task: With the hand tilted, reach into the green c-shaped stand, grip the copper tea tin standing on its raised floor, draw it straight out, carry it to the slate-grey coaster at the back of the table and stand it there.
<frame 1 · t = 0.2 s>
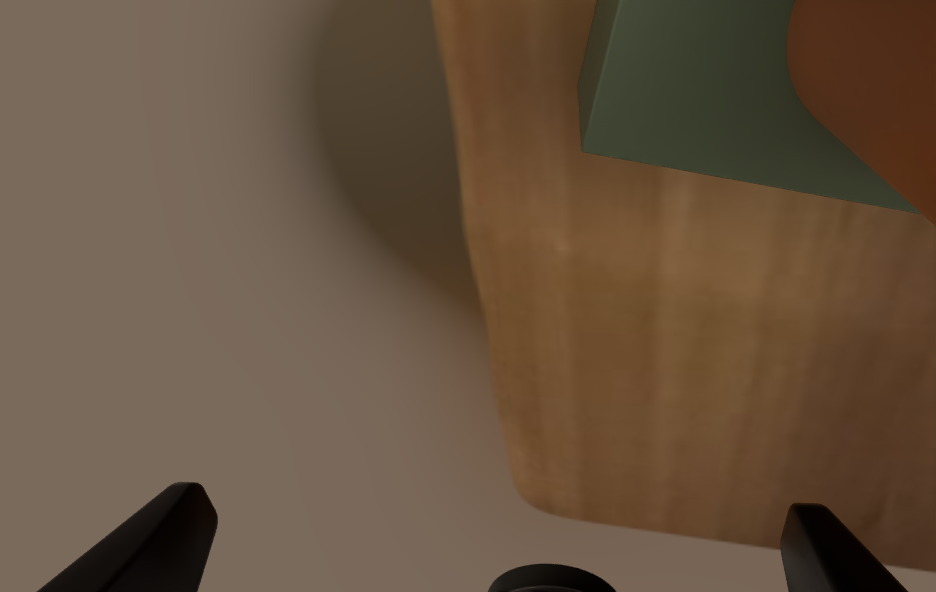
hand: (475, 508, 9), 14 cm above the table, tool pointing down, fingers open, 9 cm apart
tea tin: (928, 15, 12), point 6 cm above the table, touching green c-shaped stand
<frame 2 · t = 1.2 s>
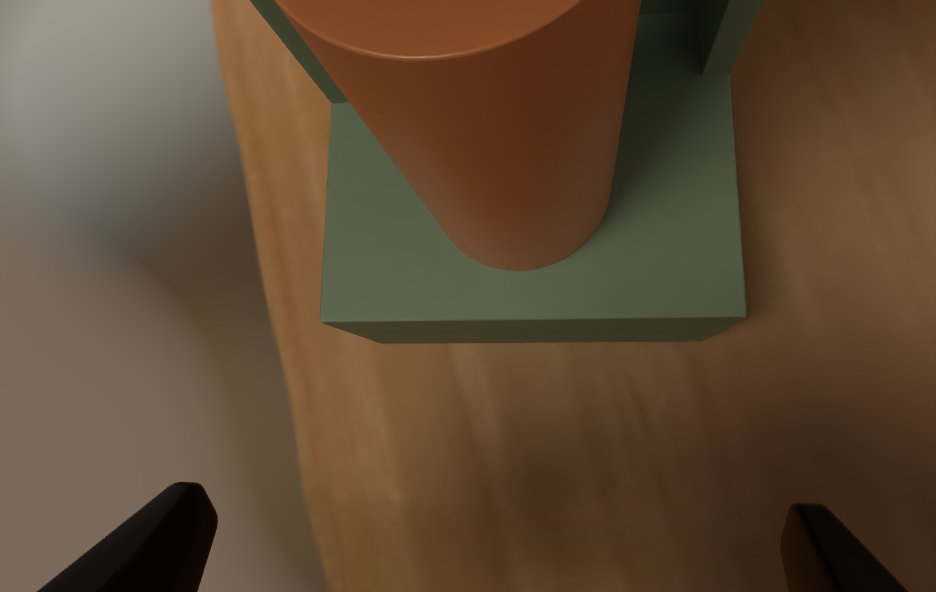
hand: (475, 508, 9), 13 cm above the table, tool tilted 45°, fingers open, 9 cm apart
tea tin: (520, 184, 18), point 6 cm above the table, touching green c-shaped stand
green c-shaped stand: (533, 239, 24), on the table
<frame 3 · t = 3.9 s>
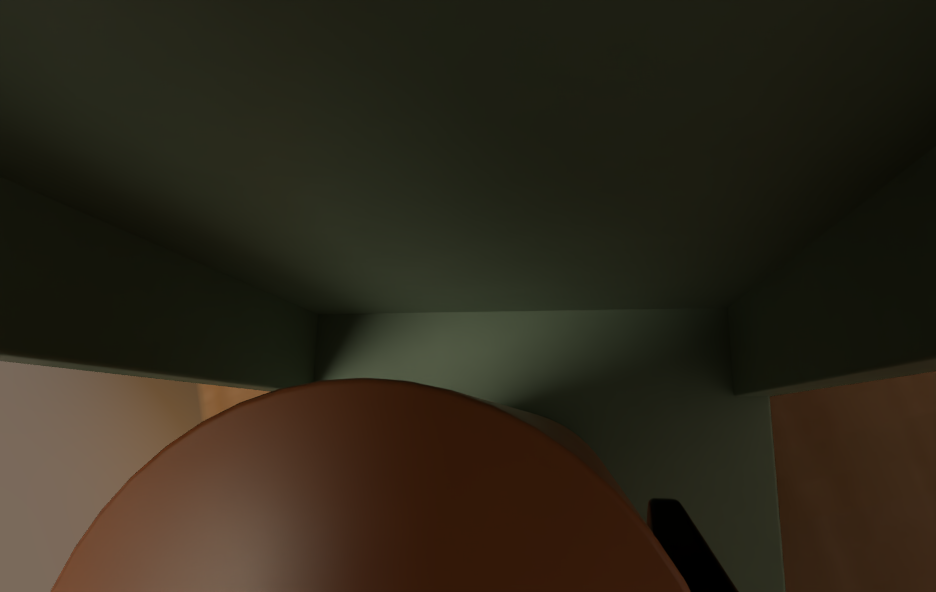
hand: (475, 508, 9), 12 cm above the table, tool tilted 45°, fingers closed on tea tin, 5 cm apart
tea tin: (510, 522, 15), point 6 cm above the table, touching gripper
green c-shaped stand: (529, 495, 21), on the table
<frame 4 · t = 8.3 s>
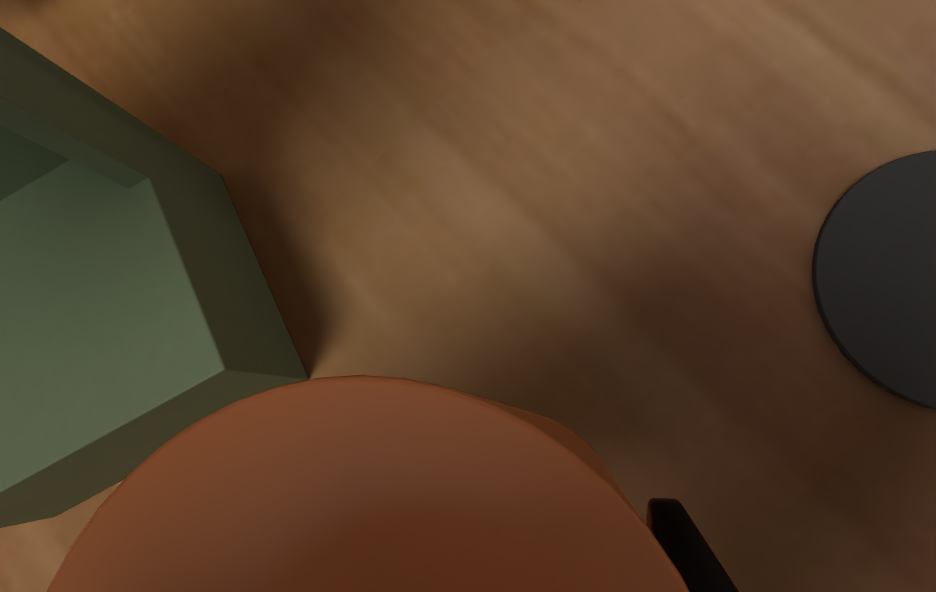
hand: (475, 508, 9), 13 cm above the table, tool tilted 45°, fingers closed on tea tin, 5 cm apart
tea tin: (510, 521, 15), point 8 cm above the table, touching gripper
green c-shaped stand: (146, 360, 26), on the table
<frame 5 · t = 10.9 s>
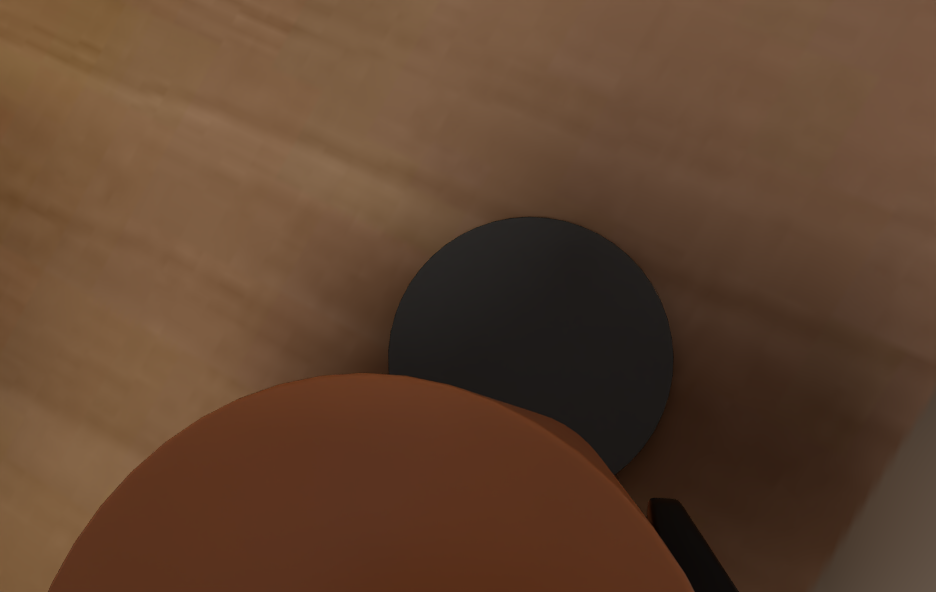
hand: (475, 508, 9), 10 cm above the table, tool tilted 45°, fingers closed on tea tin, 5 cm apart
coaster: (526, 354, 20), on the table
tea tin: (511, 521, 15), point 5 cm above the table, touching gripper
when the fingers open (6 cm above the table, at t = 12.8 s): tea tin stays where it is, resting on coaster.
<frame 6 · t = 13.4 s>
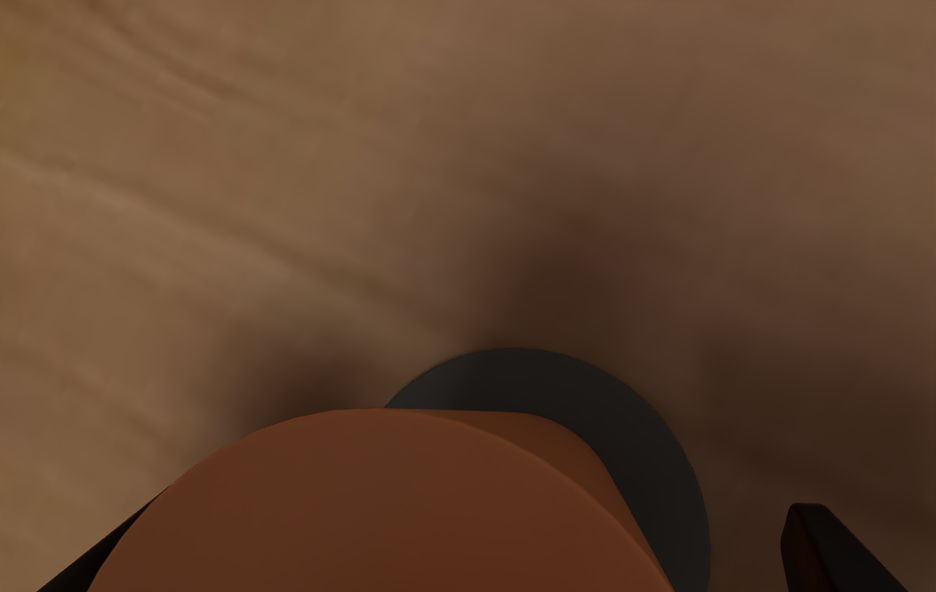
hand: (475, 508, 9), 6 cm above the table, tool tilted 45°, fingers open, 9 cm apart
coaster: (515, 531, 15), on the table
tea tin: (512, 521, 15), resting on coaster
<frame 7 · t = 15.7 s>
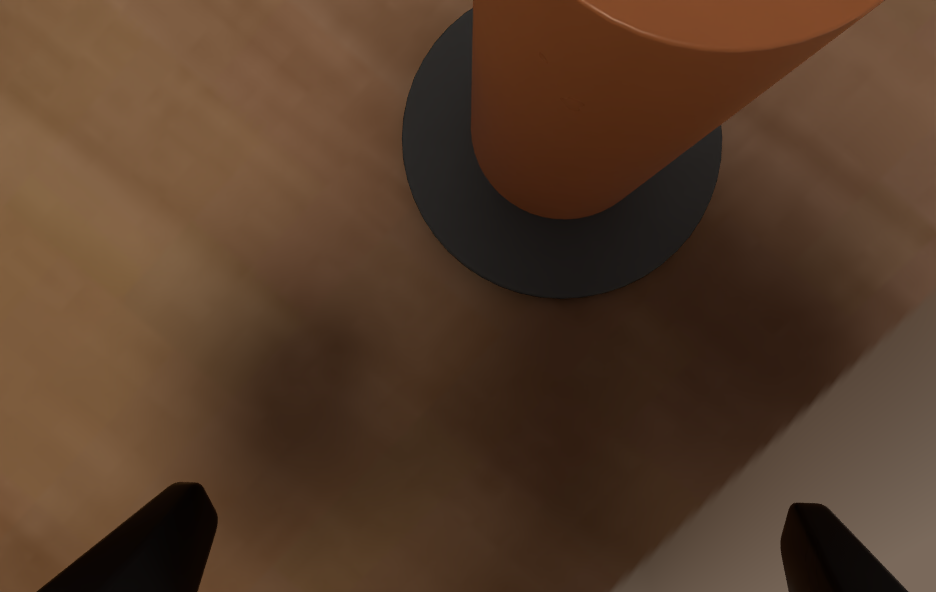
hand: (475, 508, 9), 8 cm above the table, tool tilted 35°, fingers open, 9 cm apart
coaster: (560, 141, 18), on the table
tea tin: (563, 127, 17), resting on coaster
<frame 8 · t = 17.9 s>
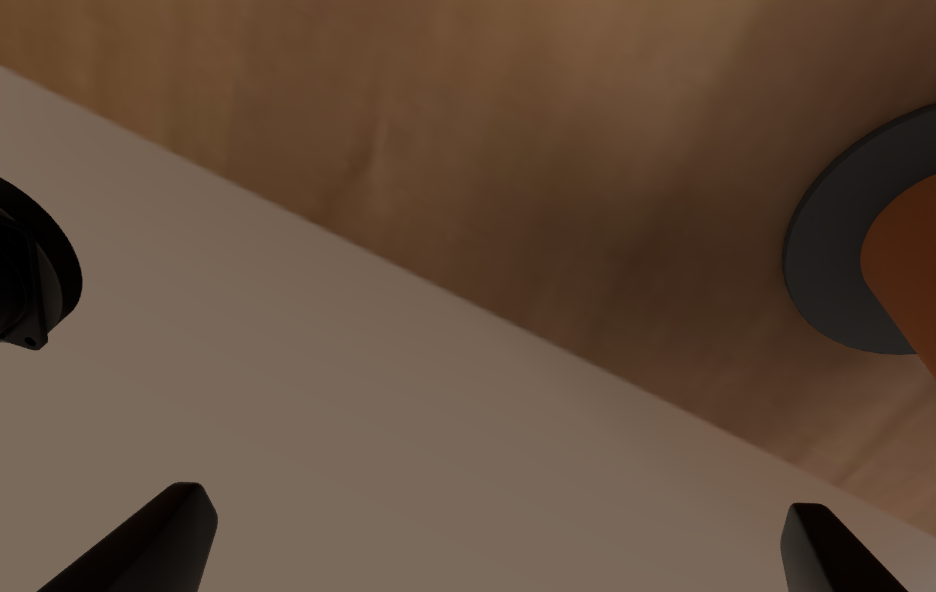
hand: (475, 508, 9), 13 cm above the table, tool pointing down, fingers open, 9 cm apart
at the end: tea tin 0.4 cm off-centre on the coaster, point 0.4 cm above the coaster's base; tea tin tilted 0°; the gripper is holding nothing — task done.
